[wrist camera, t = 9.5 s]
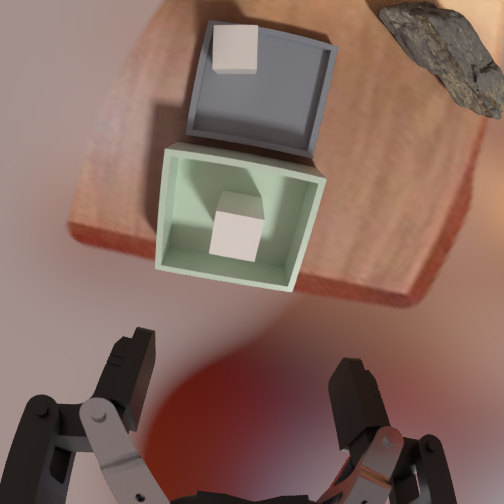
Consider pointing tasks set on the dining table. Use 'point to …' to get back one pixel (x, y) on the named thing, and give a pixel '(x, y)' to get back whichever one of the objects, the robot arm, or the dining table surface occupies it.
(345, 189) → the dining table surface
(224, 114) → the slate tray
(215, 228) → the off-white rectangular block
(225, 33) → the smooth off-white cube
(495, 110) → the rock
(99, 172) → the dining table surface
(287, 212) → the green bin
